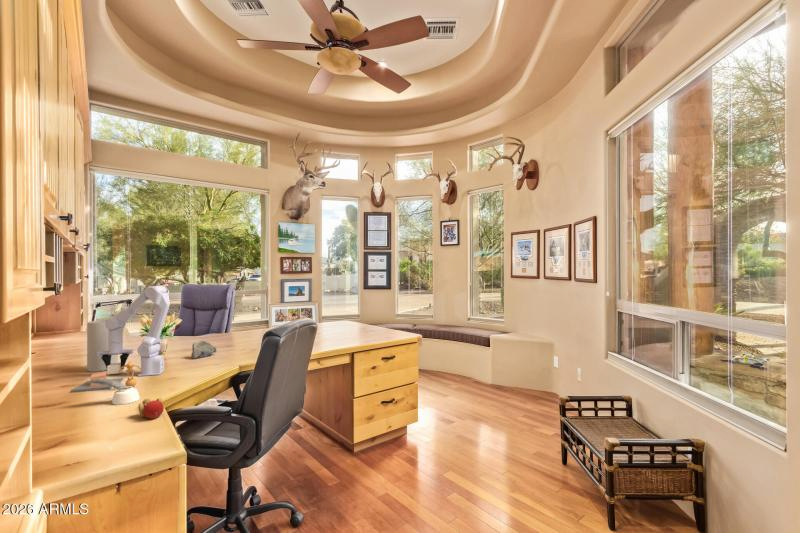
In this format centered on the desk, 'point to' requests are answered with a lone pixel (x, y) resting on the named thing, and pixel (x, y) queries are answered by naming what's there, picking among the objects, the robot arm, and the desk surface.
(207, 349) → the mineral rock
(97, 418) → the desk surface
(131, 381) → the figurine
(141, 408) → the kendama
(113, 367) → the cream brick
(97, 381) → the inkwell
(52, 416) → the desk surface
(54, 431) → the desk surface
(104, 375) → the terracotta brick
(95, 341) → the cylinder vase
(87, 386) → the baseplate
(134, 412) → the desk surface
